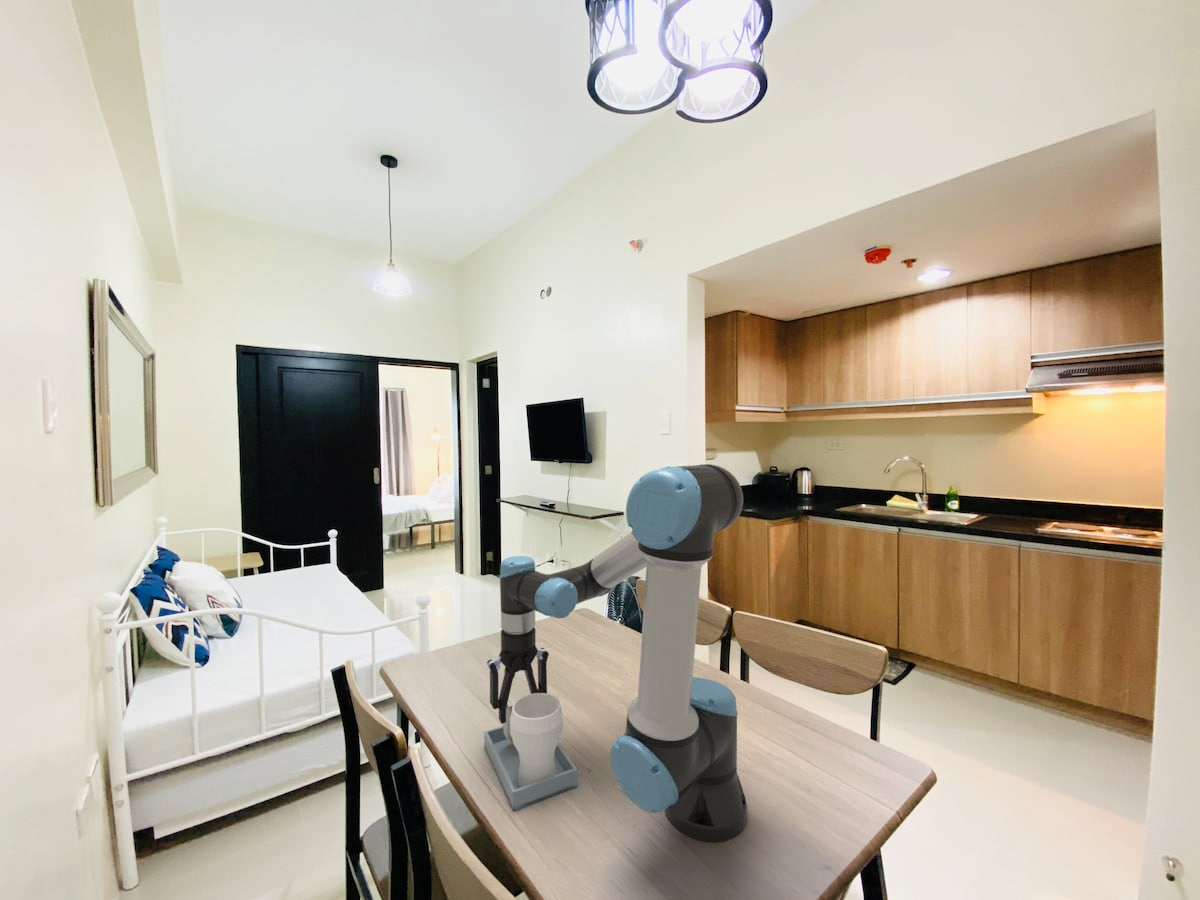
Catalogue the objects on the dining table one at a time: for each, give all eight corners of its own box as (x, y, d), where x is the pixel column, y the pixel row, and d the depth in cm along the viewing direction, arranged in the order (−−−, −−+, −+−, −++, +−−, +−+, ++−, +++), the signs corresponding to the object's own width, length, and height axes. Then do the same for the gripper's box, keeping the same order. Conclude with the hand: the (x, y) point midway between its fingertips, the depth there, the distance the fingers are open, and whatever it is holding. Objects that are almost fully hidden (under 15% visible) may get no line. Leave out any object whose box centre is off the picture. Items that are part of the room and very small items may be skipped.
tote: (577, 786, 95) (577, 769, 95) (513, 811, 89) (512, 792, 89) (539, 729, 114) (539, 715, 114) (484, 746, 108) (484, 731, 108)
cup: (554, 802, 90) (553, 723, 90) (502, 794, 92) (500, 717, 92) (569, 764, 101) (568, 694, 100) (521, 758, 103) (520, 689, 103)
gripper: (550, 615, 113) (550, 712, 114) (473, 629, 105) (474, 734, 105) (562, 626, 107) (563, 729, 107) (481, 642, 98) (482, 754, 99)
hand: (519, 731), depth 106 cm, fingers closed on walnut cube, 5 cm apart
